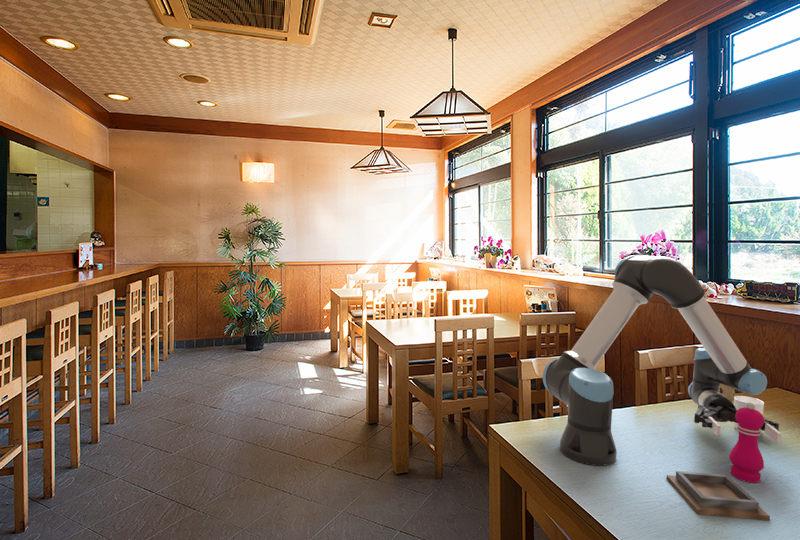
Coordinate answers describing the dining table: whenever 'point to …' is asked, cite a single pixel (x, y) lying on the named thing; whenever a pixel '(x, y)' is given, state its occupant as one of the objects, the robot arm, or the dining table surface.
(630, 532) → the dining table surface
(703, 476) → the cruet board
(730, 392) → the stone disc
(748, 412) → the pepper mill
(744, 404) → the white cup
